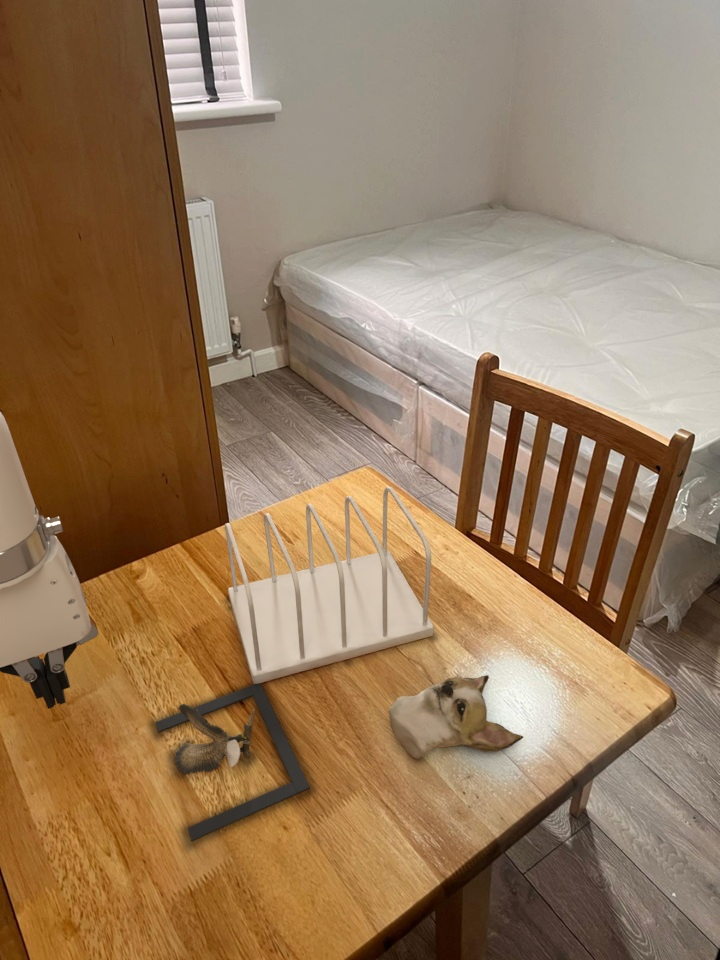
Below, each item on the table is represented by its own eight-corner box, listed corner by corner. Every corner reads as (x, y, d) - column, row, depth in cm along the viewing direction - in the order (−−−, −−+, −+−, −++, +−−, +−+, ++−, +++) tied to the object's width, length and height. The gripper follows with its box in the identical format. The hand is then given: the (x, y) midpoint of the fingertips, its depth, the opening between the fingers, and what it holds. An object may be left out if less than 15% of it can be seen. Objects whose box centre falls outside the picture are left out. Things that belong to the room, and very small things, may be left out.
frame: (191, 841, 77) (191, 840, 77) (155, 723, 89) (155, 722, 89) (309, 788, 82) (309, 787, 81) (260, 683, 94) (260, 681, 94)
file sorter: (253, 686, 93) (239, 596, 84) (228, 598, 107) (214, 512, 98) (434, 636, 99) (438, 547, 91) (388, 559, 113) (388, 475, 104)
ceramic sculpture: (375, 665, 84) (492, 639, 88) (371, 713, 89) (482, 687, 93) (407, 741, 76) (534, 709, 80) (401, 789, 81) (521, 757, 85)
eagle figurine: (255, 711, 89) (180, 704, 88) (256, 706, 82) (175, 699, 81) (246, 778, 86) (169, 772, 85) (246, 779, 79) (163, 772, 78)
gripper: (84, 497, 64) (126, 641, 75) (-106, 547, 59) (-32, 695, 70) (98, 546, 59) (142, 694, 69) (-110, 606, 54) (-29, 757, 64)
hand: (55, 694), depth 69 cm, fingers closed
